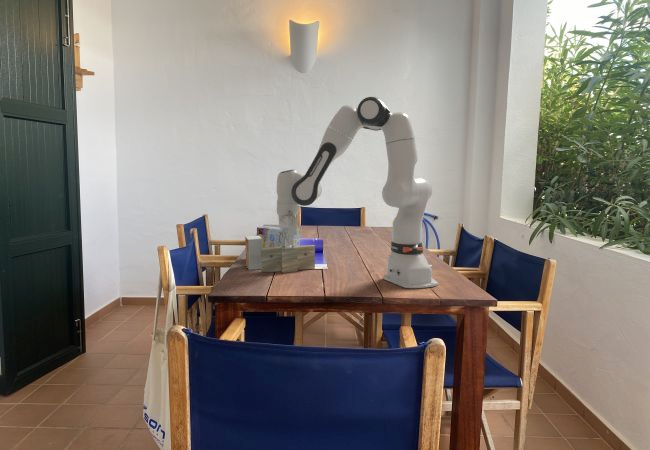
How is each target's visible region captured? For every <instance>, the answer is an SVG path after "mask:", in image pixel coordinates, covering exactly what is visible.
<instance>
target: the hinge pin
mask: <svg viewBox="0 0 650 450" xmlns="http://www.w3.org/2000/svg"><path fill="white" fill-rule="evenodd" d="M285 248H292V245H288V239H285Z"/></svg>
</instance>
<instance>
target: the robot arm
mask: <svg viewBox="0 0 650 450" xmlns="http://www.w3.org/2000/svg"><path fill="white" fill-rule="evenodd" d="M360 129H365V130H370V131H375V132H376V131H382V132H383V135H384V141H385V148H386V154H387V155H386V156H387V161H388V162H387V163H388V170H387V178H386V182H385V184H384V186H383V188H382V191H381V197H382V200H383V202H384V203H385V204H386V205H387V206H389V207H391V208H392V207H393V208H397V209H398V211H397V214H396V215H395V217H394V219H393V221H392V234H391V237H392V238H391V239H392V241H391V242H390V251H391V253H390V255H388V257H387V262H386V271H385V272H386V273H385V274H384V275H383V276H382V279H383V280H385V281H388V282H390V283H392V284H395V285H396V286H399V287H402V288H404V289H424V288H431V287H437V286H438V285H439V282H438V281H437V280H436V279H434V278H433V277H432V275H433V274H432V271H433V265H432V264H429V262H428V260H427V258H426V256H425V255H424V246H423V242H422V228H423V225H422V224H423V220H424V214H425V212H426V208H427V204H428V202H429V200H430V198H431V197H432V194H433V188H432V185H431V183H430V181H428V180H427V179H424V178H422V177H419V176H418V177H417V176H414V175H415V174H414V173H415V167H416V164H417V162H418V153H417V152H418V151H417V145H416V139H415V134H414V133H415V132H414V129H413V125H412V122H411V119H410V117H409V115H408V114H407V113H404V112H391V110H390V109H389V108H388V106H387V104H386V103H385V102H384V101H382V100H381V98H379V97H376V96H368V97H365V98H363V99H362V100H361V101H360V102H359V104H358V105H357V107H354V106H353V105H343V106H341V107H340V109H339V110H338V111H336V113H335V114H334V116H333V118H332V119H331V121H330V122H329V124H328V126H327V128H326V129H325V132H324V133H323V136H322V139H321V142H320V144H319V148H318V150H317V153H316V154H315V157H314V159H313V160H312V162H311V163H310V166H309V167H308V169H307V171H306V172H305V173H304V174H302V173H300V172H298V170H296V169H289V170H284V171H281V172H279V173H278V175H277V178H276V194H277V200H276V215H278V216H277V217H278V225H279V228H280V229H282V230H283V236H284V241H285V239H288V245H293V239H294V235H297V229H298V220H297V215H299V210H300V209H299V208H300V207H299V206H302V207H306V206H307V207H308V206H310V205H312V204H313V203H314V202H315V201H316V200H318V198H319V197H320V196H321V194H322V192H323V191H322V185H321V183H320V182H321V181H322V179H323V177H324V175H326V172H327V171H328V168H329V167H330V165H331V164H332V163H333V162H335V160H337V158H339V157H340V156H342V155H343V154H344V153H345V152H346V150H347V149H348V148H349V147H350V145H351V143H352V141H353V139H354V138H355V137H356V134H357V133H358V132H359V130H360Z"/></svg>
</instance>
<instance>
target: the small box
mask: <svg viewBox="0 0 650 450" xmlns="http://www.w3.org/2000/svg"><path fill="white" fill-rule="evenodd" d="M244 239H245V240H244V241H245V266H246V267H247V269H248V271H251V270H252V271H253V270H261V248H263V239H262V238H261V237H260V236H257V235H249V236H245V237H244Z"/></svg>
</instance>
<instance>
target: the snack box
mask: <svg viewBox="0 0 650 450" xmlns="http://www.w3.org/2000/svg"><path fill="white" fill-rule="evenodd" d="M300 232H301V231H300V229H298V228H297V235H294V239H293V245H295V246H301V245H300V242H301V241H300V238H301V237H300V234H301V233H300ZM256 236H260V237H261V238H262V239H263V248H269V247H279V246H283V245H285V241H284V236H283V230H282V229H280V227H277V226H269V225H263V226H257V227H256Z"/></svg>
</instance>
